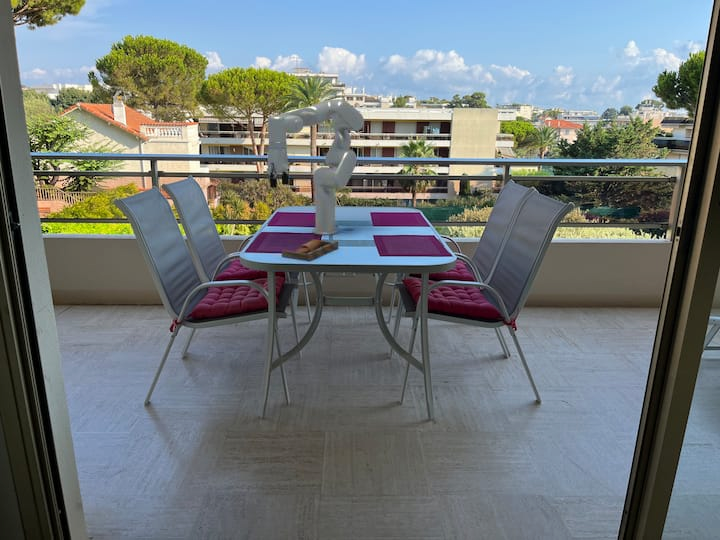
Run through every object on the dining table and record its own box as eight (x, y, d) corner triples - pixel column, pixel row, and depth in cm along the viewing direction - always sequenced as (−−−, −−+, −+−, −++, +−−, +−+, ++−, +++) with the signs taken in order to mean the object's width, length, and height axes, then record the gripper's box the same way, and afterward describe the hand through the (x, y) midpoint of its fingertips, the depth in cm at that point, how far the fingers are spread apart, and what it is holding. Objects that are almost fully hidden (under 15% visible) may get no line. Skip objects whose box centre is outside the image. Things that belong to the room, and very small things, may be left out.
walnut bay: (311, 244, 237) (311, 238, 236) (338, 248, 232) (338, 241, 231) (281, 256, 216) (281, 249, 216) (309, 261, 211) (309, 254, 210)
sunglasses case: (303, 245, 235) (310, 233, 233) (316, 254, 235) (324, 242, 233) (291, 256, 218) (299, 243, 216) (305, 265, 218) (313, 252, 216)
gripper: (280, 144, 237) (282, 182, 242) (259, 147, 222) (261, 188, 227) (295, 144, 234) (296, 183, 239) (274, 148, 219) (276, 189, 224)
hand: (279, 185), depth 233 cm, fingers open, 9 cm apart
